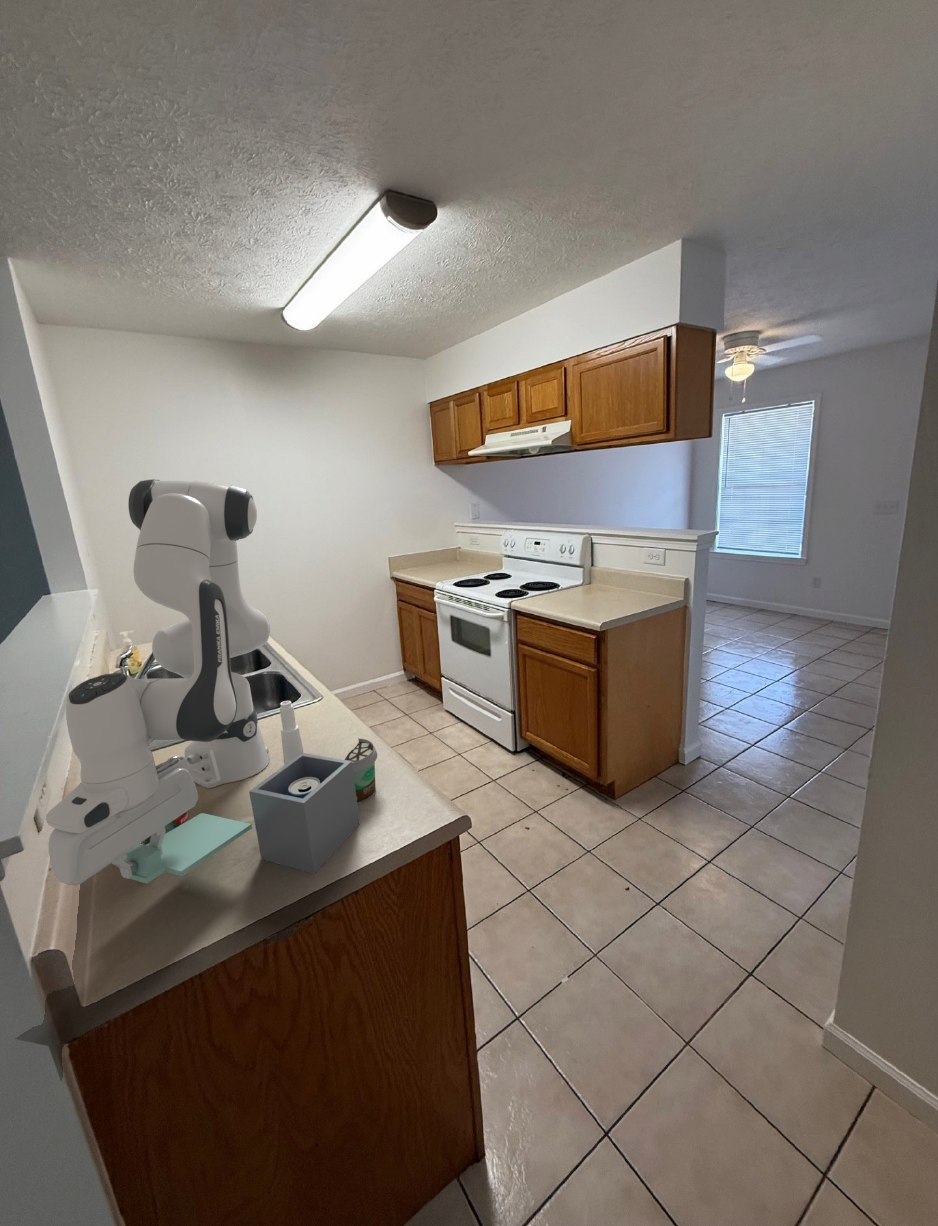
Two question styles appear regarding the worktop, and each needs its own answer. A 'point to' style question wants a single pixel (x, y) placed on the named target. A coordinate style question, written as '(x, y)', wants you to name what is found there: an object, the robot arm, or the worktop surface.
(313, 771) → the tub
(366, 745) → the food container
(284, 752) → the cosmetic bottle
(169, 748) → the worktop surface
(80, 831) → the robot arm
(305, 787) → the beverage can
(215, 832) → the lid
